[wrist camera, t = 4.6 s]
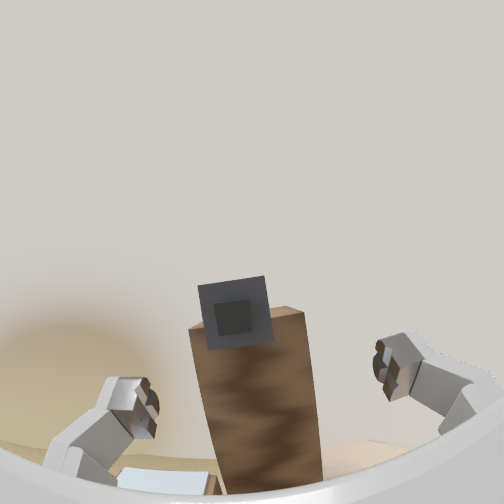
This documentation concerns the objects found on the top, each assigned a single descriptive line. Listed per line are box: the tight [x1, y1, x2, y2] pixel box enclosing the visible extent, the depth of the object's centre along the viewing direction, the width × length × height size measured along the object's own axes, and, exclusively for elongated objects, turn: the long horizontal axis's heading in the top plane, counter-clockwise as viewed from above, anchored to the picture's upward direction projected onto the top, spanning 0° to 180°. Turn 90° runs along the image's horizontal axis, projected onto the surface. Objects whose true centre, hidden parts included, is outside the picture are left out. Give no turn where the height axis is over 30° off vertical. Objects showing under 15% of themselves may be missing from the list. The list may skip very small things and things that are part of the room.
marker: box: [198, 276, 274, 351], centre depth 20 cm, size 3×24×3 cm, turn 0°
